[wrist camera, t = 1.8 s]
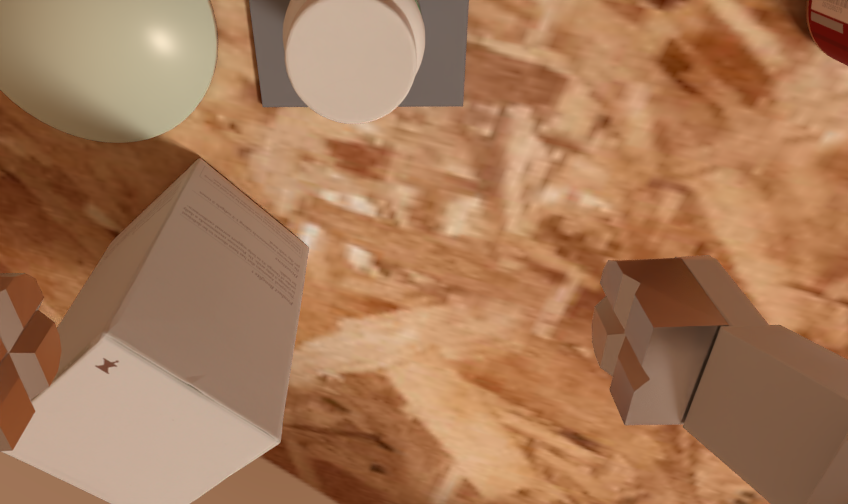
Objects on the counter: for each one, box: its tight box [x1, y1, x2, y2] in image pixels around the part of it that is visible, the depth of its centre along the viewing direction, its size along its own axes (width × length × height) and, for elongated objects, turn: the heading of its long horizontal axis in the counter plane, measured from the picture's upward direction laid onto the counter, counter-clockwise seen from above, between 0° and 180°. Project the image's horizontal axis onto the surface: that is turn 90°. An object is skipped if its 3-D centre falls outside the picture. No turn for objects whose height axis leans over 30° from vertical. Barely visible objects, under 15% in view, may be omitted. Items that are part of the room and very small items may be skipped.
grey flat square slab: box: [249, 0, 469, 107], centre depth 26 cm, size 9×9×1 cm
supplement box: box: [1, 158, 309, 504], centre depth 27 cm, size 7×7×13 cm
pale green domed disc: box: [0, 0, 218, 143], centre depth 26 cm, size 10×10×1 cm
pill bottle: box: [283, 0, 425, 124], centre depth 22 cm, size 5×5×8 cm
